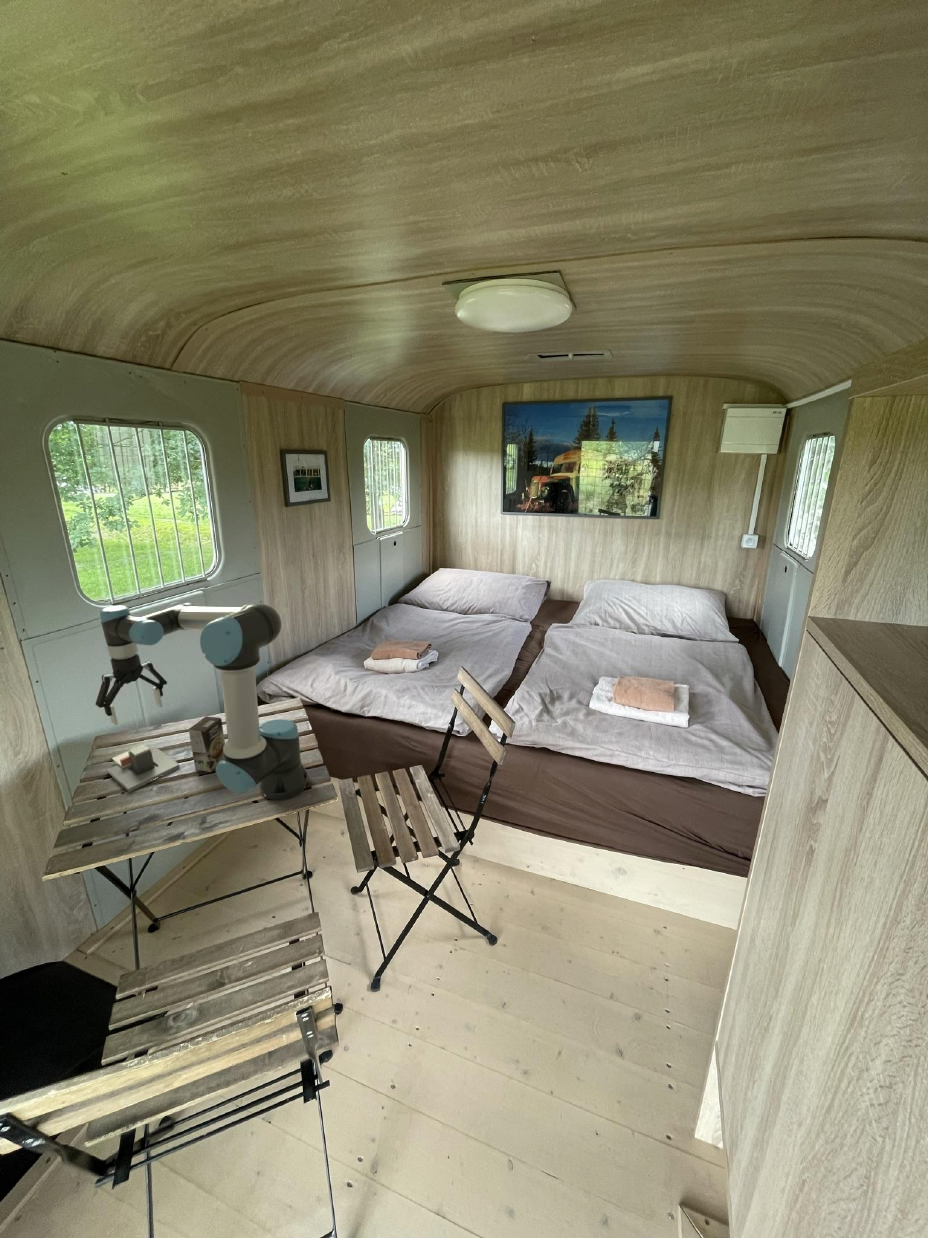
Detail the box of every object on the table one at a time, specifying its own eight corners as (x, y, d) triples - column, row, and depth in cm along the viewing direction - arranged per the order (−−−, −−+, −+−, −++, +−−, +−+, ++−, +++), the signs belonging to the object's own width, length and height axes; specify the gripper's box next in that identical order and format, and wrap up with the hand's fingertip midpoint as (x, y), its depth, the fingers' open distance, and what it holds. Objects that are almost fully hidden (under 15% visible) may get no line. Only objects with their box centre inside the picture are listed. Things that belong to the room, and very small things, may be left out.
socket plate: (179, 767, 173) (179, 764, 172) (129, 792, 160) (128, 788, 160) (157, 751, 181) (156, 747, 181) (107, 773, 169) (106, 769, 168)
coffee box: (211, 772, 171) (204, 731, 166) (194, 769, 172) (187, 729, 167) (228, 756, 180) (222, 717, 174) (212, 754, 181) (205, 715, 175)
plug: (154, 768, 171) (150, 748, 169) (139, 775, 167) (134, 755, 165) (148, 762, 174) (143, 743, 171) (132, 770, 170) (127, 750, 167)
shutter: (151, 755, 176) (149, 748, 175) (122, 768, 169) (121, 760, 168) (140, 747, 180) (138, 740, 179) (112, 759, 173) (110, 752, 172)
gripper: (159, 639, 168) (171, 696, 175) (72, 665, 149) (89, 727, 156) (171, 645, 164) (182, 702, 171) (83, 671, 145) (99, 735, 152)
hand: (137, 714), depth 163 cm, fingers open, 13 cm apart
